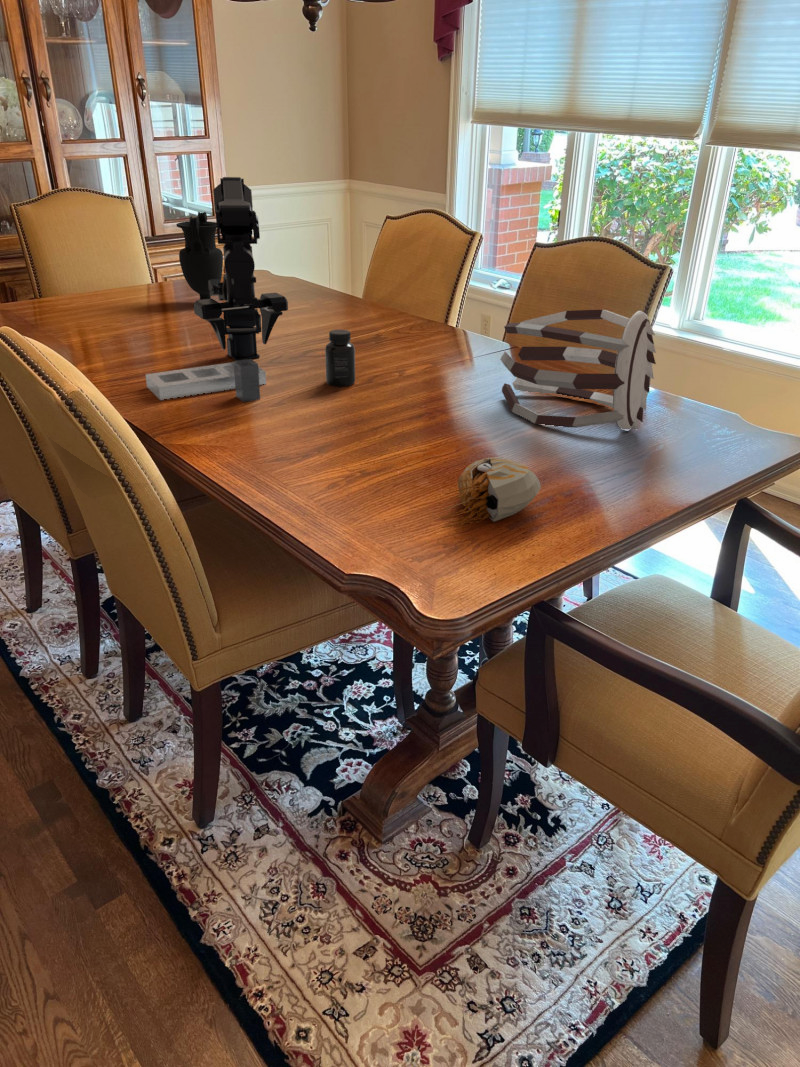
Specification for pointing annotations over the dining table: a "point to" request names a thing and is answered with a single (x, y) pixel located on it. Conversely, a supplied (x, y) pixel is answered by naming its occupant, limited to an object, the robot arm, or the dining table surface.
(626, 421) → the decorative basket
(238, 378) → the graphite block
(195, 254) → the urn
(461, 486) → the nautilus
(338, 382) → the supplement bottle
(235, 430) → the dining table surface
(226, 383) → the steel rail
